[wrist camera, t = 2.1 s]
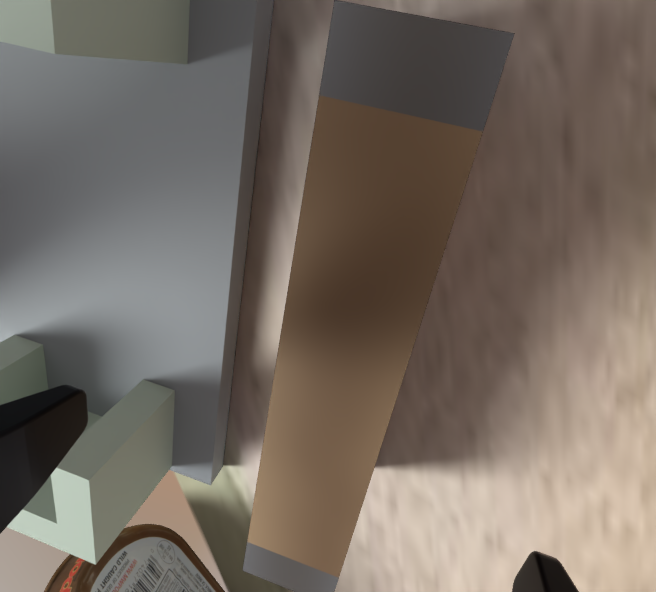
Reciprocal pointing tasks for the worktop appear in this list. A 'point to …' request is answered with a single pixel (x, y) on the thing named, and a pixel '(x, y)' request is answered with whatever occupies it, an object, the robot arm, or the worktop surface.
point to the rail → (363, 270)
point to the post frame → (126, 238)
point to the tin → (138, 566)
